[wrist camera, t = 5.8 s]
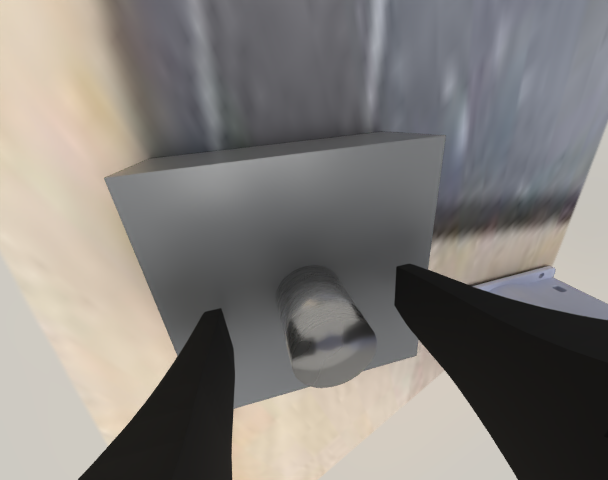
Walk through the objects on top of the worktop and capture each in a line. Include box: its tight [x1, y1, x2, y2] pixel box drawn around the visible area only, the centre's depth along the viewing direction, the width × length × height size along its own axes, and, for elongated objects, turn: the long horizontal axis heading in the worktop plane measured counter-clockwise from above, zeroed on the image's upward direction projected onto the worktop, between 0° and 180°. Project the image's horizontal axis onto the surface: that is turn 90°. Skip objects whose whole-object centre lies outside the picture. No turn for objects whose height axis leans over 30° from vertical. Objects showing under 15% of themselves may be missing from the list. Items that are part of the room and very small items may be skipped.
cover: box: [104, 132, 446, 409], centre depth 12 cm, size 12×12×8 cm
